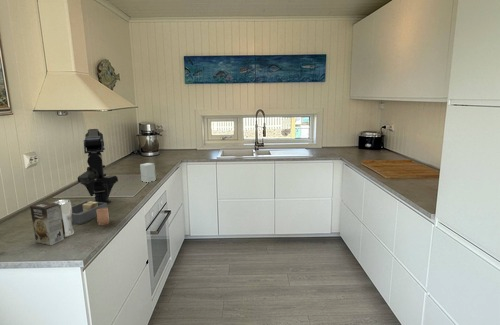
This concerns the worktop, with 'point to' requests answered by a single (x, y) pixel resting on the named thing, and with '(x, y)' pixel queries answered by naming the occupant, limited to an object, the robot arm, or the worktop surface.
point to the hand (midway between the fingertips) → (99, 196)
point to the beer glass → (66, 217)
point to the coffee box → (47, 223)
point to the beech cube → (89, 206)
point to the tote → (85, 213)
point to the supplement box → (147, 172)
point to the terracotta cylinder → (102, 216)
